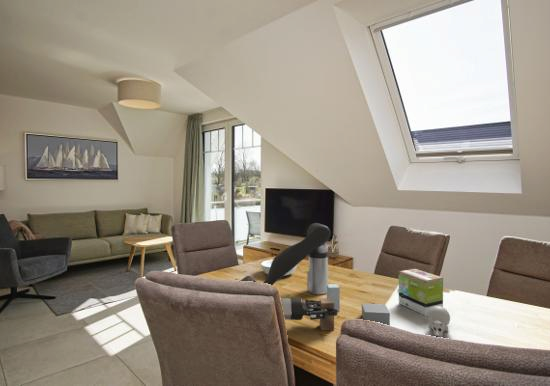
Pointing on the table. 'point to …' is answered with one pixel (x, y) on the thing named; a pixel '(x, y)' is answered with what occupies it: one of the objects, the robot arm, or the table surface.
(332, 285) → the bluegrey block
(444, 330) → the round bodied animal figurine
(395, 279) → the table surface
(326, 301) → the walnut block
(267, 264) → the serving bowl
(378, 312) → the grey block
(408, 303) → the tea box
